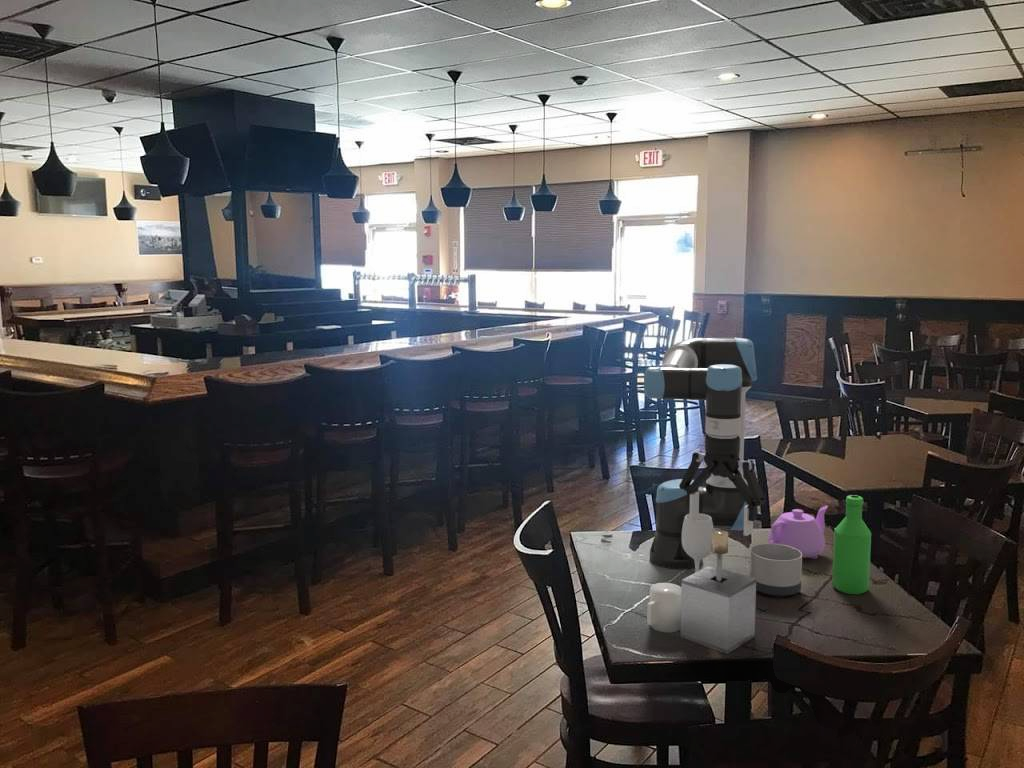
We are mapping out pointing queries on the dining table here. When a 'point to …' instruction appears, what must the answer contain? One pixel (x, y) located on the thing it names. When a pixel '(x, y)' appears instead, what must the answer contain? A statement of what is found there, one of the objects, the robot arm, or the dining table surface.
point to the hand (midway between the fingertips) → (720, 527)
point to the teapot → (800, 532)
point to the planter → (776, 569)
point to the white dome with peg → (664, 607)
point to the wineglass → (697, 537)
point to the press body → (718, 609)
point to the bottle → (852, 550)
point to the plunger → (719, 549)
